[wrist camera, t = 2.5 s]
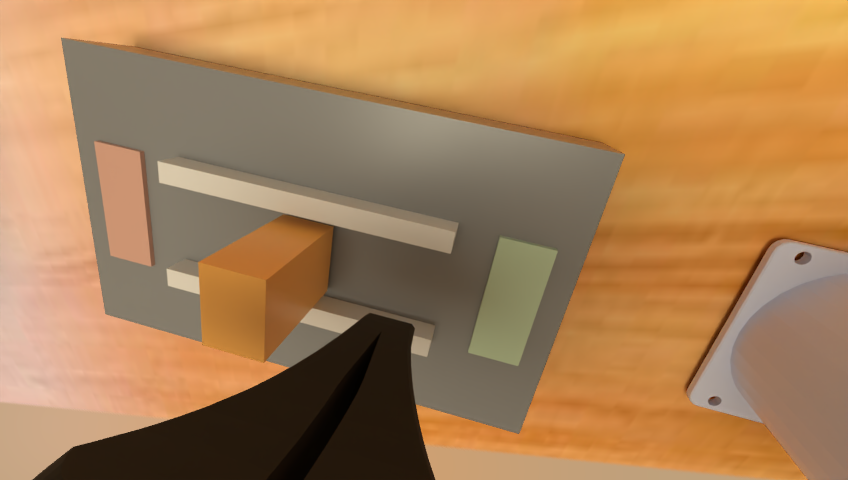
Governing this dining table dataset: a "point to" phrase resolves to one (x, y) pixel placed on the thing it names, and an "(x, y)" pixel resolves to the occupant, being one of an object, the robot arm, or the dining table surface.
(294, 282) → the breaker lever
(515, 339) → the slider control box
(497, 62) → the dining table surface
